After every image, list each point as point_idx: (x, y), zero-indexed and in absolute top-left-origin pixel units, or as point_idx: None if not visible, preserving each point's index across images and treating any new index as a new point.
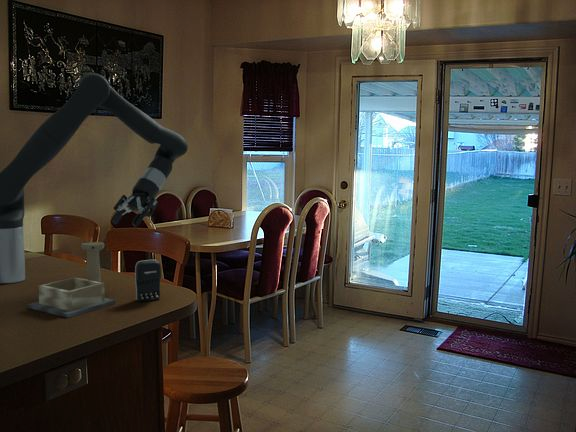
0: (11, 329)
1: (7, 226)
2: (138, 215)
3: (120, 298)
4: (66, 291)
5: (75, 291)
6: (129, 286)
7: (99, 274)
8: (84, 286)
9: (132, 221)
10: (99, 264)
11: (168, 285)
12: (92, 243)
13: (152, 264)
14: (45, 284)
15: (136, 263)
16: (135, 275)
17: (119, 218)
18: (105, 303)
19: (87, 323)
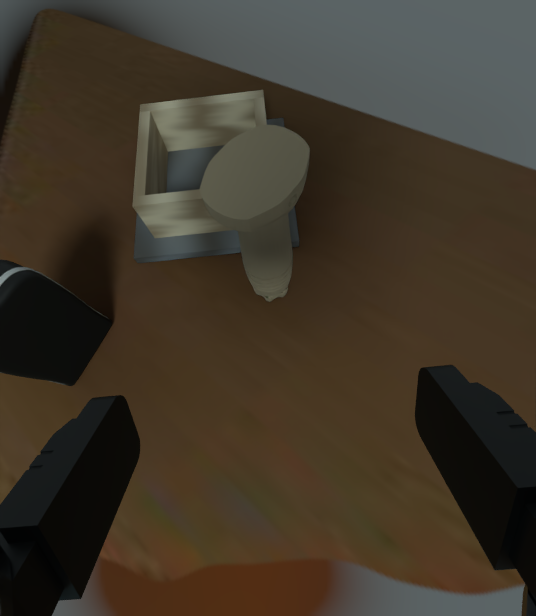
0: (179, 60)
1: None
2: (20, 507)
3: (165, 304)
4: (151, 105)
5: (140, 123)
6: (257, 424)
7: (243, 264)
8: None
9: (110, 404)
10: (243, 248)
11: (144, 546)
12: (262, 171)
13: None
14: (259, 104)
15: (28, 272)
16: (58, 284)
17: (458, 483)
18: (136, 227)
19: (83, 147)
